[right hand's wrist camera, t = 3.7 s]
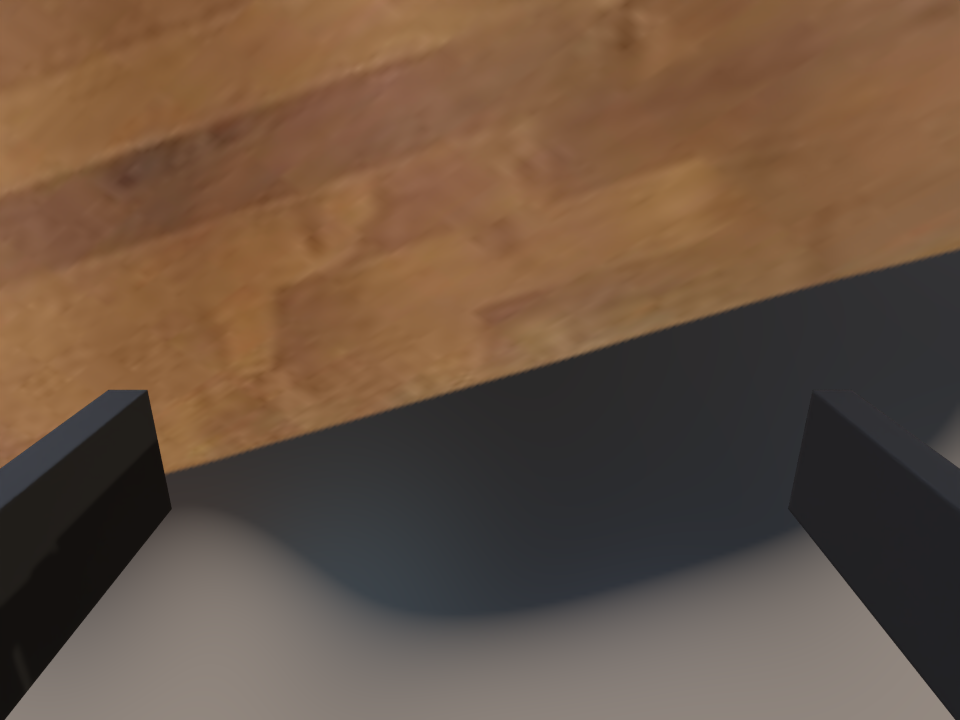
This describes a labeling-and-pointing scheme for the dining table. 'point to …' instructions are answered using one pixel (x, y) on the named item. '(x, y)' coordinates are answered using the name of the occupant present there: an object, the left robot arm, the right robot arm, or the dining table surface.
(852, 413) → the right robot arm
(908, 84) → the dining table surface
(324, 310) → the dining table surface
